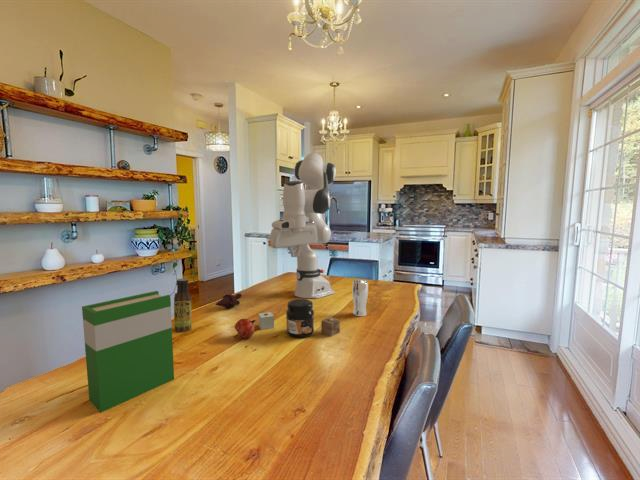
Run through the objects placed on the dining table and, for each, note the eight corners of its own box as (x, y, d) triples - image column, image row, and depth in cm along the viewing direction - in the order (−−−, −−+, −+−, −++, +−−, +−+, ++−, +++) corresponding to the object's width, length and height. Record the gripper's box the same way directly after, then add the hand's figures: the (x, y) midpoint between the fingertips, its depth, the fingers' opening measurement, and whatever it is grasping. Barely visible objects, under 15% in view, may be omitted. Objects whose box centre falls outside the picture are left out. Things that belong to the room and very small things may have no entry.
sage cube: (270, 323, 128) (270, 311, 128) (274, 328, 124) (273, 315, 123) (258, 325, 126) (258, 313, 126) (261, 330, 122) (261, 317, 121)
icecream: (222, 300, 138) (247, 295, 150) (211, 293, 141) (236, 289, 154) (219, 315, 139) (244, 308, 152) (208, 307, 142) (233, 302, 155)
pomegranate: (236, 348, 111) (258, 332, 110) (223, 331, 111) (246, 315, 110) (242, 341, 118) (263, 326, 118) (231, 326, 118) (251, 310, 118)
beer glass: (367, 311, 143) (367, 279, 141) (368, 317, 136) (368, 283, 135) (351, 311, 144) (352, 279, 142) (352, 316, 137) (352, 283, 135)
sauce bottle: (173, 333, 117) (170, 281, 115) (175, 327, 123) (173, 278, 121) (191, 331, 119) (189, 280, 117) (193, 325, 125) (191, 277, 123)
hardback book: (160, 370, 91) (156, 290, 89) (174, 379, 87) (170, 295, 84) (89, 400, 77) (81, 306, 75) (100, 412, 73) (93, 313, 70)
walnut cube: (329, 329, 123) (329, 316, 123) (339, 332, 120) (339, 319, 119) (321, 333, 119) (321, 319, 119) (331, 336, 116) (331, 323, 116)
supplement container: (288, 340, 112) (288, 308, 111) (284, 329, 123) (284, 299, 121) (317, 337, 115) (317, 305, 114) (310, 326, 125) (310, 297, 124)
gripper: (311, 220, 132) (312, 252, 134) (267, 223, 121) (269, 258, 123) (320, 221, 127) (320, 254, 129) (275, 224, 116) (276, 261, 118)
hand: (295, 256), depth 126 cm, fingers closed
